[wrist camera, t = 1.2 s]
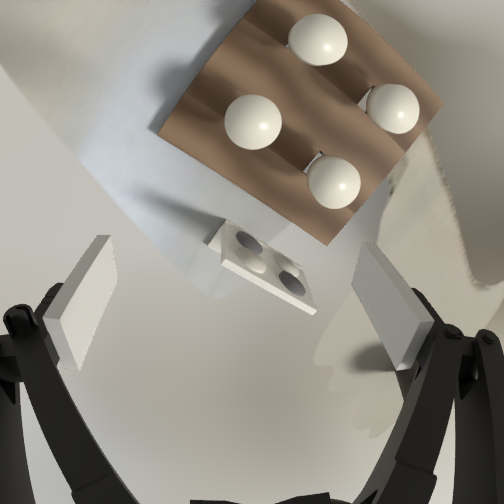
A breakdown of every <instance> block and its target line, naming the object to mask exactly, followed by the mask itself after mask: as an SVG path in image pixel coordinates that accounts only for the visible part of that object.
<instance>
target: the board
mask: <svg viewBox="0 0 504 504" xmlns="http://www.w3.org/2000/svg"><path fill="white" fill-rule="evenodd" d="M311 14H323V15H327V16H330V17H332V18H333V19H335V20H336V21H337V22H339V23H340V24H341V26H342V27H343V28H344V30H345V32H346V35H347V41H348V43H347V49H346V51H345V53H344V55H343V56H342V57H341V58H340V59H339V60H338V61H336V62H334V63H332V64H327V65H321V66H311V65H307V64H305V63H303V62H301V61H299V60H298V59H297V58H296V57H295V56H294V55H293V54H292V52H291V51H290V50H289V49H287V48H286V47H285V46H286V45H287V44H288V35H289V32H290V30H291V28H292V27H293V26H294V25H295V24H296V23H297V22H298V21H300V20H301V19H302V18H304V17H305V16H308V15H311ZM380 84H397V85H403V86H405V87H407V88H408V89H410V90H411V91H412V92H413V93H414V95H415V96H416V98H417V100H418V104H419V117H418V120H417V122H416V124H415V126H414V127H413V128H412V129H411V130H409V131H408V132H406V133H402V134H395V133H392V132H389V131H386V130H384V129H381V128H379V127H377V126H376V125H375V124H374V123H373V122H372V121H371V120H370V118H369V116H368V115H367V114H366V113H365V112H364V111H363V110H362V109H361V108H360V107H359V106H358V105H357V104H358V103H359V101H360V100H361V99H362V98H363V97H364V95H365V94H366V93H367V92H368V90H369V89H370V88H371V87H372V88H374V87H376V86H378V85H380ZM248 94H255V95H259V96H263V97H265V98H267V99H269V100H270V101H272V102H273V103H274V104H275V105H276V107H277V108H278V110H279V112H280V114H281V120H282V125H281V130H280V133H279V135H278V136H277V138H276V139H275V140H274V141H273V142H272V143H271V144H270V145H268V146H266V147H264V148H261V149H255V150H250V149H245V148H242V147H240V146H238V145H236V144H235V143H234V142H233V141H232V140H231V139H230V138H229V136H228V135H227V132H226V129H225V114H226V111H227V109H228V107H229V105H230V104H231V103H232V102H233V101H234V100H235V99H237V98H239V97H241V96H243V95H248ZM442 105H443V103H442V101H441V100H440V99H439V98H438V96H437V95H436V94H435V93H434V92H433V90H432V89H431V88H430V87H429V86H428V84H427V83H426V82H425V81H424V80H423V79H422V78H421V76H420V75H419V74H418V73H417V72H416V71H415V70H414V69H413V68H412V67H411V66H410V65H409V63H408V62H407V61H406V60H405V59H404V58H403V57H402V56H401V55H400V54H399V53H398V52H397V51H396V50H395V49H394V48H393V47H392V46H391V45H390V44H389V43H388V42H387V41H386V40H385V39H384V38H383V37H382V36H381V35H379V34H378V33H377V32H376V31H375V30H374V29H373V28H372V27H371V26H370V25H369V24H367V23H366V22H365V21H364V20H363V19H362V18H361V17H359V16H358V15H357V14H356V13H355V12H353V11H352V10H351V9H350V8H349V7H347V6H346V5H345V4H344V3H342V2H341V1H340V0H258V1H257V2H256V3H255V4H254V5H253V6H252V7H251V9H250V10H249V11H248V12H247V13H246V14H245V15H244V17H243V18H242V19H241V20H240V21H239V23H238V24H237V25H236V26H235V27H234V29H233V30H232V31H231V32H230V33H229V35H228V36H227V37H226V38H225V40H224V41H223V42H222V43H221V45H220V46H219V47H218V48H217V50H216V51H215V52H214V54H213V55H212V56H211V58H210V59H209V60H208V62H207V63H206V64H205V66H204V67H203V68H202V70H201V71H200V72H199V74H198V75H197V76H196V78H195V79H194V81H193V82H192V83H191V85H190V86H189V88H188V89H187V91H186V92H185V93H184V95H183V96H182V98H181V99H180V101H179V102H178V104H177V105H176V107H175V108H174V110H173V111H172V113H171V114H170V116H169V117H168V119H167V120H166V122H165V124H164V125H163V127H162V128H161V130H160V131H159V133H158V136H159V137H161V138H163V139H164V140H166V141H167V142H169V143H171V144H172V145H174V146H176V147H177V148H179V149H180V150H182V151H184V152H185V153H187V154H189V155H190V156H192V157H193V158H195V159H197V160H198V161H200V162H201V163H203V164H204V165H206V166H208V167H209V168H211V169H212V170H214V171H215V172H217V173H219V174H220V175H222V176H223V177H225V178H226V179H228V180H230V181H231V182H233V183H234V184H236V185H237V186H239V187H240V188H242V189H243V190H245V191H246V192H248V193H249V194H251V195H252V196H254V197H256V198H257V199H259V200H260V201H262V202H263V203H265V204H266V205H268V206H269V207H271V208H272V209H274V210H275V211H277V212H278V213H279V214H281V215H282V216H284V217H285V218H287V219H288V220H290V221H291V222H293V223H294V224H296V225H297V226H299V227H300V228H302V229H303V230H304V231H306V232H307V233H309V234H310V235H312V236H313V237H315V238H316V239H317V240H319V241H320V242H322V243H323V244H325V245H326V246H327V245H328V244H329V243H330V242H331V241H332V240H333V238H334V237H335V236H336V235H337V234H338V233H339V232H340V230H341V229H342V228H343V227H344V226H345V225H346V223H347V222H348V221H349V220H350V219H351V218H352V217H353V215H354V214H355V213H356V212H357V211H358V209H359V208H360V207H361V206H362V205H363V204H364V202H365V201H366V200H367V199H368V198H369V197H370V195H371V194H372V193H373V192H374V191H375V189H376V188H377V187H378V186H379V185H380V183H381V182H382V181H383V180H384V178H385V177H386V176H387V175H388V174H389V172H390V171H391V170H392V169H393V168H394V166H395V165H396V164H397V163H398V161H399V160H400V159H401V158H402V156H403V155H404V154H405V153H406V151H407V150H408V149H409V148H410V146H411V145H412V144H413V143H414V141H415V140H416V139H417V138H418V136H419V135H420V134H421V132H422V131H423V130H424V129H425V127H426V126H427V125H428V123H429V122H430V121H431V120H432V118H433V117H434V116H435V114H436V113H437V112H438V110H439V109H440V108H441V106H442ZM319 151H321V152H322V153H324V154H325V155H337V156H340V157H342V158H343V159H345V160H346V161H347V162H349V163H350V164H352V165H353V166H354V167H355V168H356V170H357V171H358V173H359V176H360V181H361V185H360V190H359V193H358V195H357V197H356V198H355V199H354V200H353V201H352V202H351V203H350V204H349V205H347V206H345V207H343V208H339V209H330V208H326V207H324V206H322V205H321V204H320V203H319V202H318V201H317V200H316V199H315V197H314V196H313V194H312V193H311V192H310V190H309V188H308V186H307V179H306V178H307V175H306V174H305V173H304V172H303V171H304V170H305V168H306V167H307V166H308V165H309V163H310V162H311V161H312V160H313V158H314V157H315V156H316V155H317V153H318V152H319Z"/></svg>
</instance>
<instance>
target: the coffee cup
mask: <svg viewBox="0 0 504 504" xmlns="http://www.w3.org/2000/svg"><path fill="white" fill-rule="evenodd" d="M418 366H419V363H418V362H417V360H416V359H415V361H414V363H413V365H412V367H411V368H410V369H404V370H397V371H396V369H395V367H394V370H395V373H396V376H397V380H398V383H399V386H400V389H401V393H402V396H403V399H404V402H405V399H406V397H407V394H408V391H409V389H410V386H411V383H412V382H410V380H411V378H412V377H413V375H414V373H415V372H416V370H417V368H418ZM403 404H404V403H403Z"/></svg>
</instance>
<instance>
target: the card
mask: <svg viewBox="0 0 504 504" xmlns="http://www.w3.org/2000/svg"><path fill="white" fill-rule="evenodd" d="M208 247H210V248H211V249H213V250H215V251H217V252H218V253H220V254H221V265H222V266H224V267H226V268H228V269H230V270H231V271H233V272H235V273H237V274H238V275H240V276H242V277H244V278H246V279H247V280H249V281H251V282H253V283H255V284H256V285H258V286H260V287H262V288H263V289H265V290H267V291H269V292H271V293H273V294H275V295H276V296H278V297H280V298H282V299H283V300H285V301H287V302H289V303H291V304H293V305H294V306H296V307H298V308H300V309H302V310H304V311H306V312H307V313H309V314H311V315H314V314H315V313H316V311H317V308H316V305H315V302H314V300H313V297H312V294H311V291H310V289H309V286H308V283H307V281H306V278H305V275H304V272H303V268H302V266H300V265H299V264H297V263H295V262H294V261H292V260H291V259H289V258H287V257H286V256H284V255H283V254H281V253H279V252H278V251H276V250H275V249H273V248H271V247H270V246H268V245H267V244H265V243H263V242H262V241H260V240H259V239H257V238H255V237H254V236H252V235H251V234H249V233H247V232H246V231H244V230H243V229H241V228H239V227H238V226H236V225H234V224H233V223H231V222H230V221H228V220H225V221H224V223H223V224H222V225H221V227H220V228H219V229H218V231H217V232H216V234H215V235H214V236H213V238H212V239H211V240H210V242H209V243H208Z"/></svg>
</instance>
